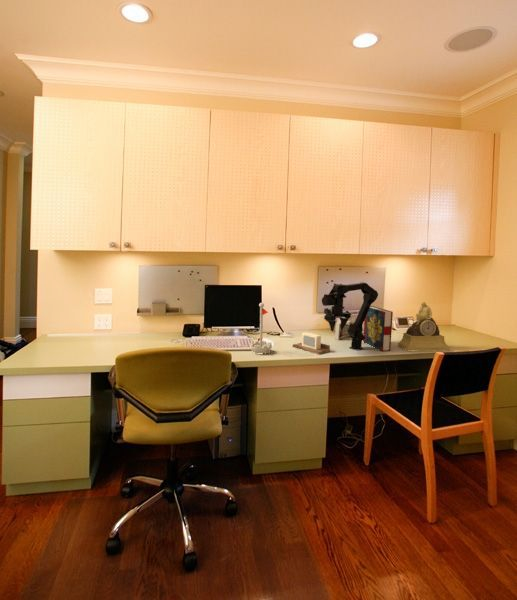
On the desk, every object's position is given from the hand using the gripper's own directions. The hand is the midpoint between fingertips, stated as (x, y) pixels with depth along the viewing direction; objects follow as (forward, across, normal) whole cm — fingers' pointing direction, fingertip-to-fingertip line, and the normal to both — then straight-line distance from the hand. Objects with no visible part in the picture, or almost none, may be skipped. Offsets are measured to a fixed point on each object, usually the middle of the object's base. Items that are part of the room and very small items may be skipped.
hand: (337, 330), depth 240 cm
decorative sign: (+13, -35, -21) cm, 43 cm away
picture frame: (+12, +10, -12) cm, 19 cm away
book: (+13, -30, +8) cm, 34 cm away
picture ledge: (+13, +10, -12) cm, 20 cm away
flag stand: (+13, +39, -26) cm, 49 cm away
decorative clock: (+13, -51, +29) cm, 61 cm away
